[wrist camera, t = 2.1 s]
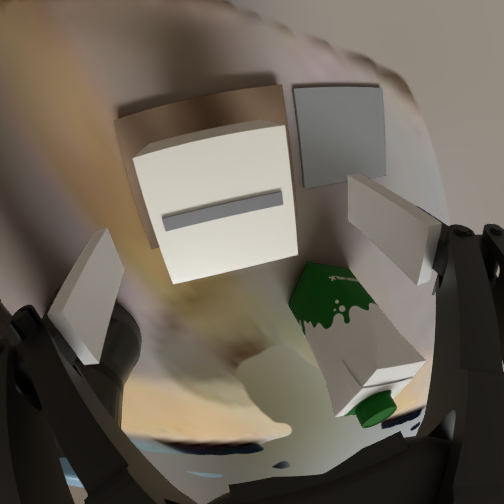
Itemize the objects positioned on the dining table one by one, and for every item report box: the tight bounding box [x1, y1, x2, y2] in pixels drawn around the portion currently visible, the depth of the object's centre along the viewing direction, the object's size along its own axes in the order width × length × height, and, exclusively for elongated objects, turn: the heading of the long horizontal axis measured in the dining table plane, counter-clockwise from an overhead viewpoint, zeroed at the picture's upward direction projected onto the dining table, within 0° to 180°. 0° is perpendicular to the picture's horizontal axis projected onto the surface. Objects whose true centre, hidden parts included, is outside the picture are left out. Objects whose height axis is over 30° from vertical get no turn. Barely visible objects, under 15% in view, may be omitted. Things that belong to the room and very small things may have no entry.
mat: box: [292, 87, 386, 189], centre depth 28 cm, size 11×11×1 cm
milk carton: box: [288, 262, 426, 428], centre depth 29 cm, size 9×9×20 cm
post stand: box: [114, 85, 297, 249], centre depth 22 cm, size 16×14×12 cm
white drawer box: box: [133, 120, 298, 284], centre depth 18 cm, size 8×8×6 cm
